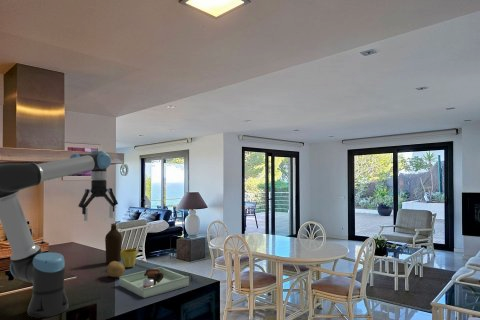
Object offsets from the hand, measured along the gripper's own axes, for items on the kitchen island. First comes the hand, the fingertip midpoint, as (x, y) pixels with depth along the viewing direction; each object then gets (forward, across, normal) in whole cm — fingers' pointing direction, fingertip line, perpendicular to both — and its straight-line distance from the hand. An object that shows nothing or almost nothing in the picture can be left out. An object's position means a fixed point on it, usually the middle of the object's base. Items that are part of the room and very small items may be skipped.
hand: (98, 219), depth 180 cm
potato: (+35, +12, +6) cm, 38 cm away
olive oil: (+35, +26, +39) cm, 58 cm away
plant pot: (+35, +28, +21) cm, 49 cm away
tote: (+35, +20, -23) cm, 46 cm away
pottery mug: (+35, +20, -24) cm, 46 cm away
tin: (+34, +12, -32) cm, 48 cm away
